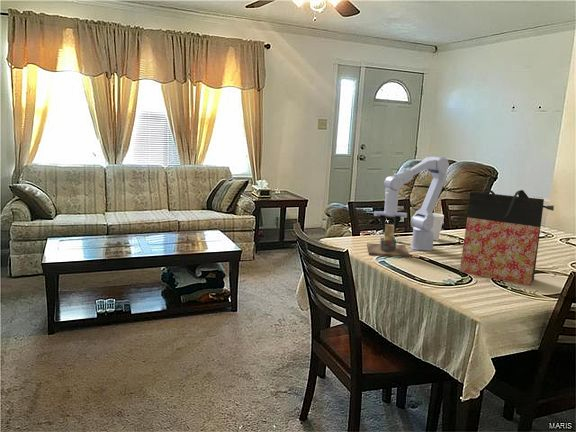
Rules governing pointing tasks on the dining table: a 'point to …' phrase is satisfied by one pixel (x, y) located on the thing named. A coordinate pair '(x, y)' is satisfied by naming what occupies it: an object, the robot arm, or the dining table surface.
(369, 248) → the stand base
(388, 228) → the post
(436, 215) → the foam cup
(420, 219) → the robot arm
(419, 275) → the dining table surface
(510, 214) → the gift bag
